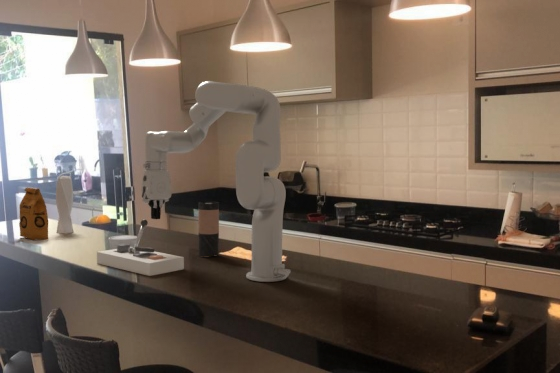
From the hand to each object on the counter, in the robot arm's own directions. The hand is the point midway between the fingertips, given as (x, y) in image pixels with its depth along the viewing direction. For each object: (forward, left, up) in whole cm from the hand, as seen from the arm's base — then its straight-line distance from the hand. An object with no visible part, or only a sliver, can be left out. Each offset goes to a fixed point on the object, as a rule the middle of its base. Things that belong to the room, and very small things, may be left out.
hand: (155, 218), depth 202 cm
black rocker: (-6, +9, -9) cm, 15 cm away
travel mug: (-6, -20, -15) cm, 26 cm away
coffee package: (+78, +4, -15) cm, 79 cm away
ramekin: (+26, -5, -15) cm, 30 cm away
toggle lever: (0, +9, -10) cm, 14 cm away
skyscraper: (+84, -14, -15) cm, 86 cm away
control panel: (-3, +9, -15) cm, 18 cm away
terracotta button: (-12, +9, -14) cm, 21 cm away
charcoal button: (+6, +9, -12) cm, 16 cm away
